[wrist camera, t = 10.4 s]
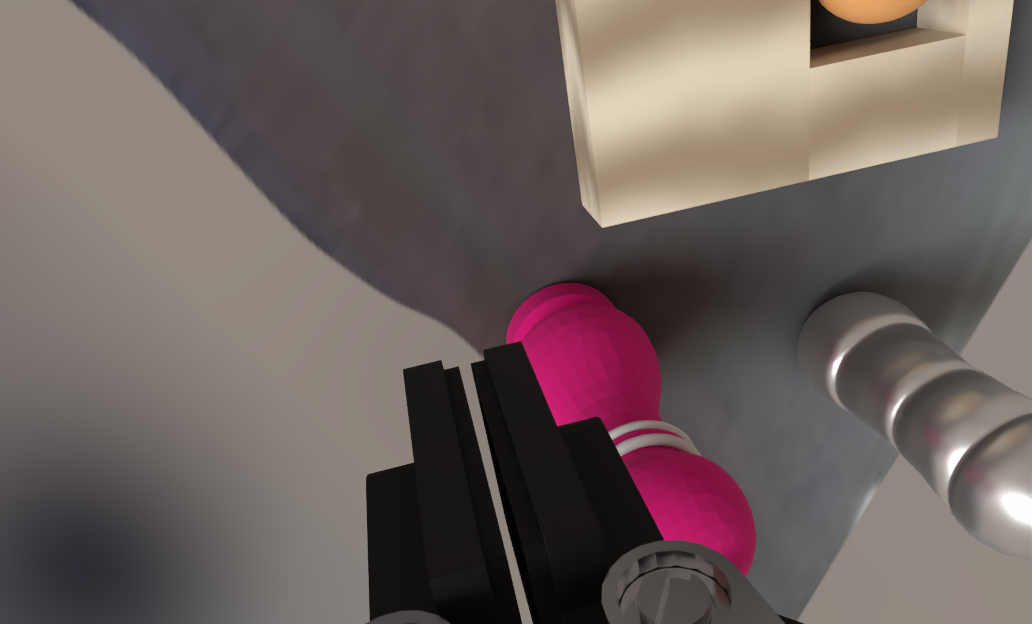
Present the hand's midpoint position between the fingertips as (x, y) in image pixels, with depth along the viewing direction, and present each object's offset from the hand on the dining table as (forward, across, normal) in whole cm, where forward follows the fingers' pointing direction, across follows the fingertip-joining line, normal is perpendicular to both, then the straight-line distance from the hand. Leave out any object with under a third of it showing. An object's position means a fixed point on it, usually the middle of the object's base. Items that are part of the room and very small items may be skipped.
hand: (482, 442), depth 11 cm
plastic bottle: (+27, -22, +18) cm, 39 cm away
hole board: (+27, -18, -2) cm, 33 cm away
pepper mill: (+27, -6, +14) cm, 31 cm away
